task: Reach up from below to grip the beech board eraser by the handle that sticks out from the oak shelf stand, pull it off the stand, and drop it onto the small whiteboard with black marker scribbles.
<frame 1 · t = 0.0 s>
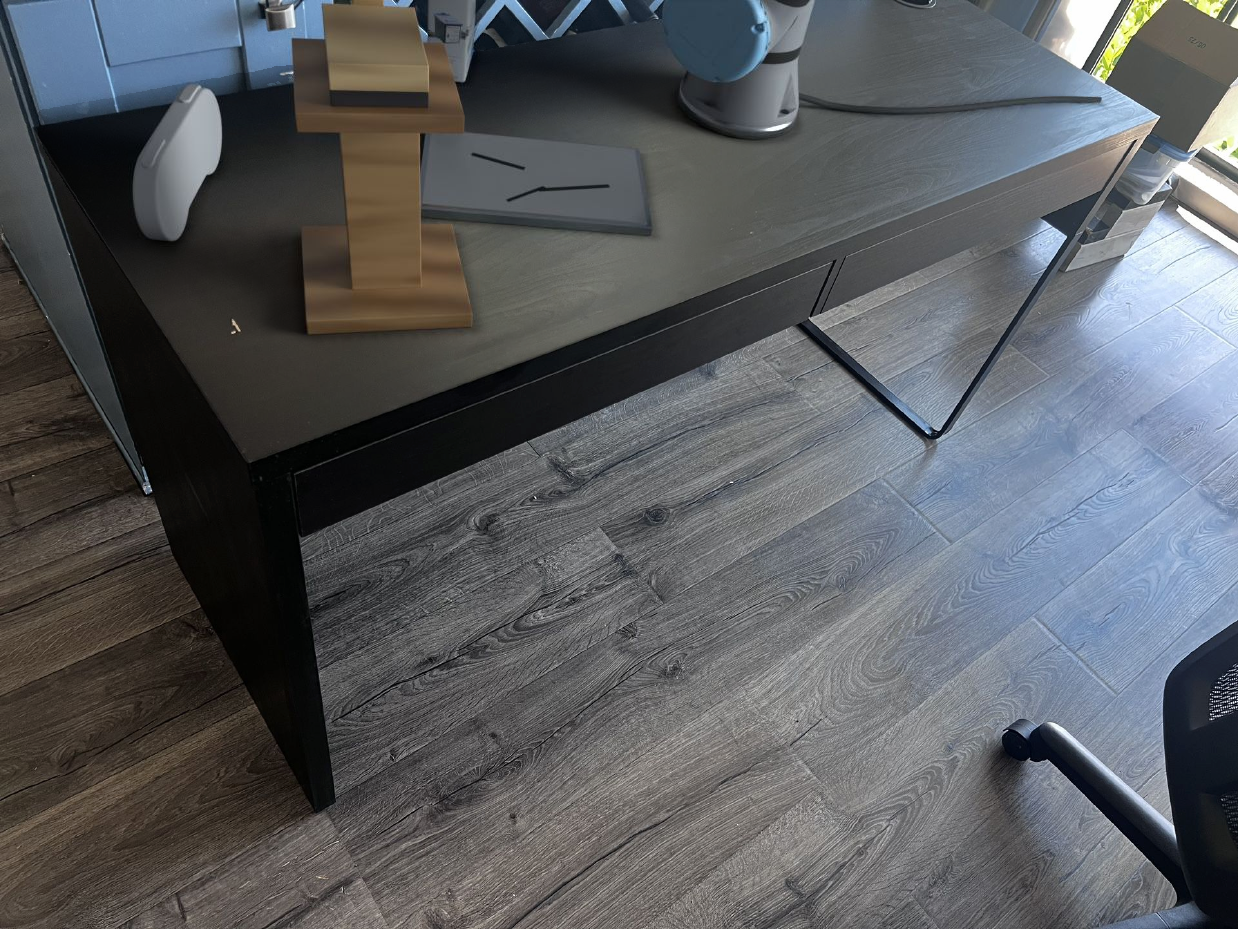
shelf stand: (384, 282, 86), on the table
eraser: (375, 75, 72), point 19 cm above the table, touching shelf stand
ink box: (451, 66, 117), on the table
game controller: (189, 200, 91), on the table
whiteboard: (534, 184, 101), on the table
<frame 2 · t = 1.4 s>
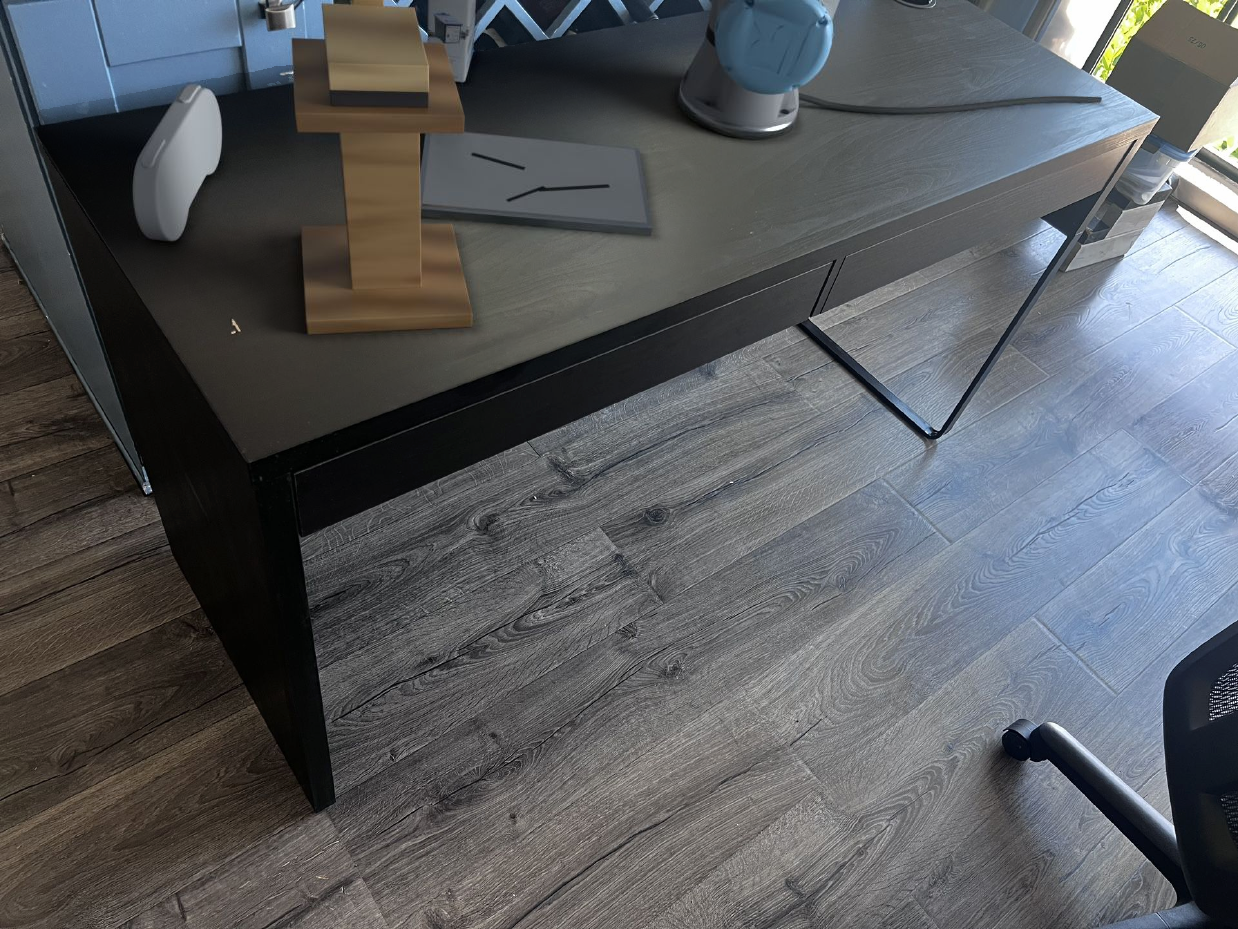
nothing on the table moved.
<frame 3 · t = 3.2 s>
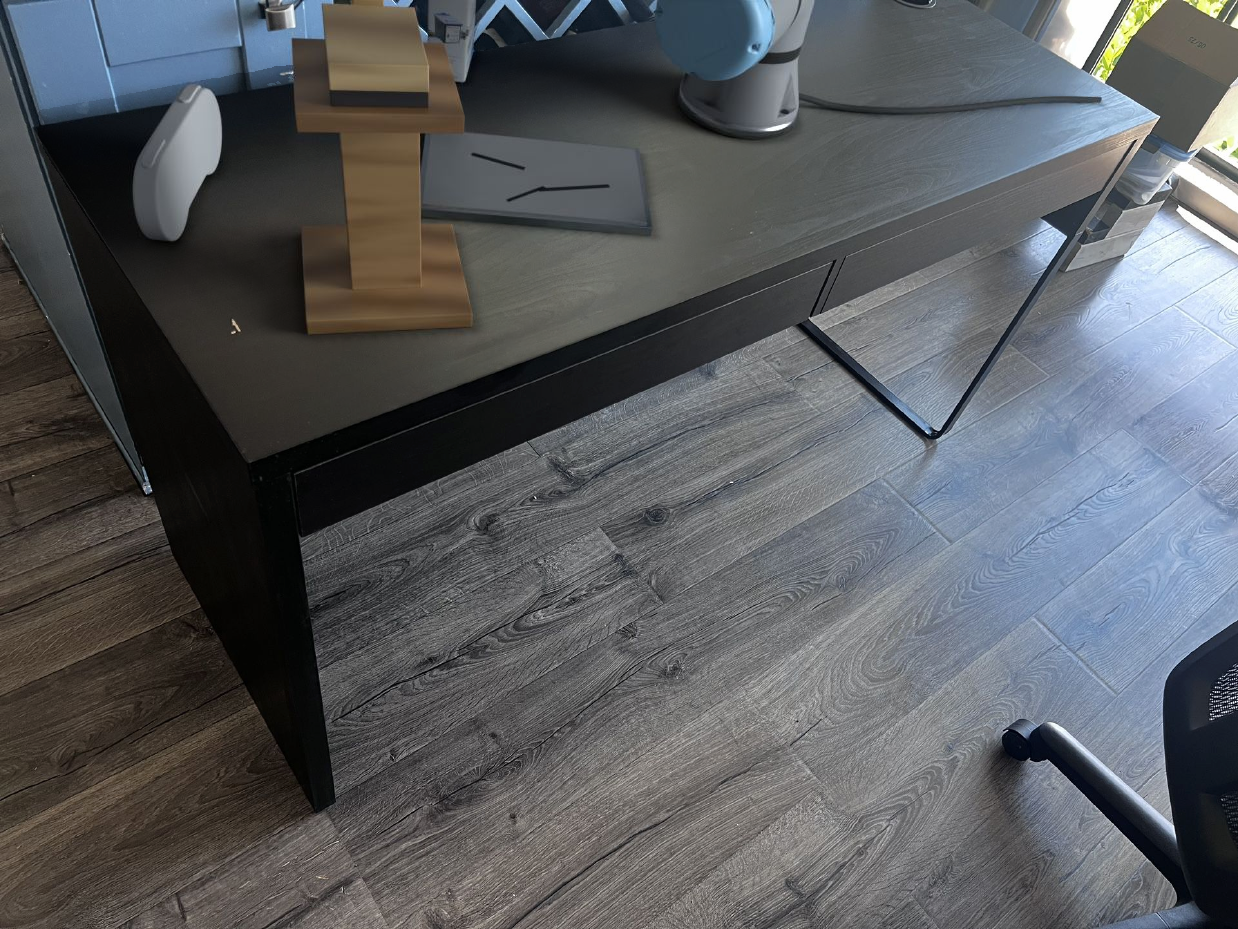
nothing on the table moved.
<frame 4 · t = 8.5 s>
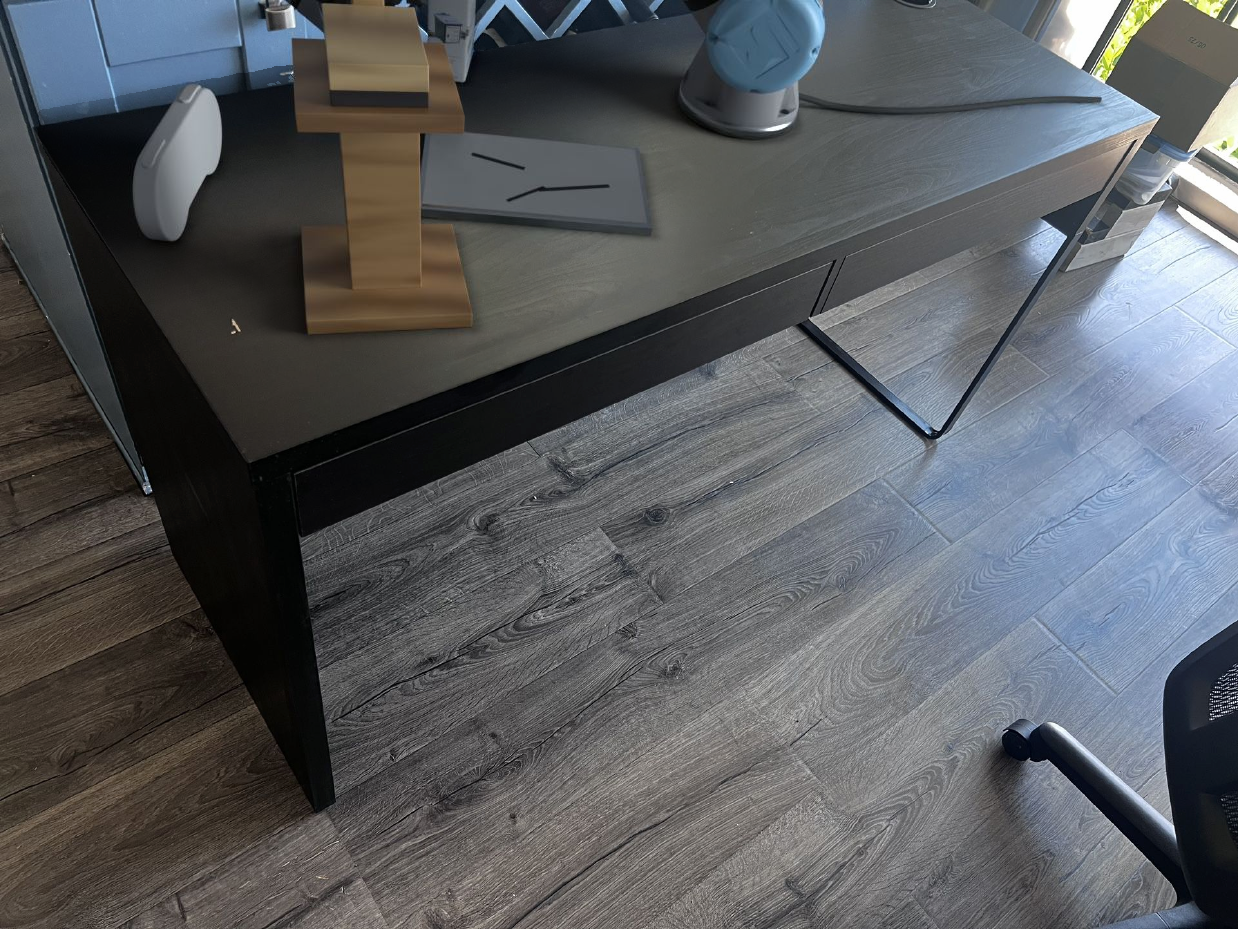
eraser: (375, 75, 72), point 19 cm above the table, touching gripper, shelf stand
everything else where it was.
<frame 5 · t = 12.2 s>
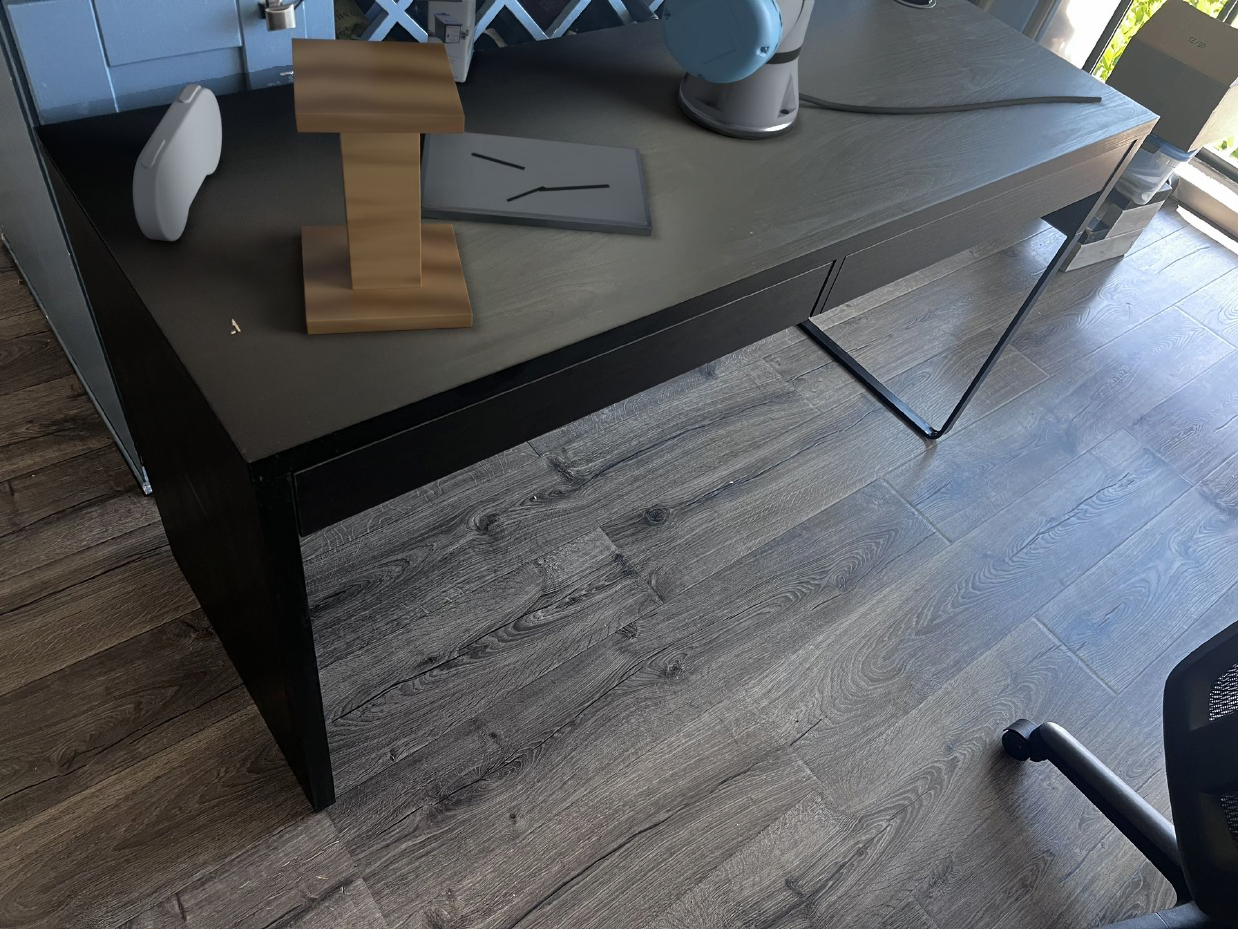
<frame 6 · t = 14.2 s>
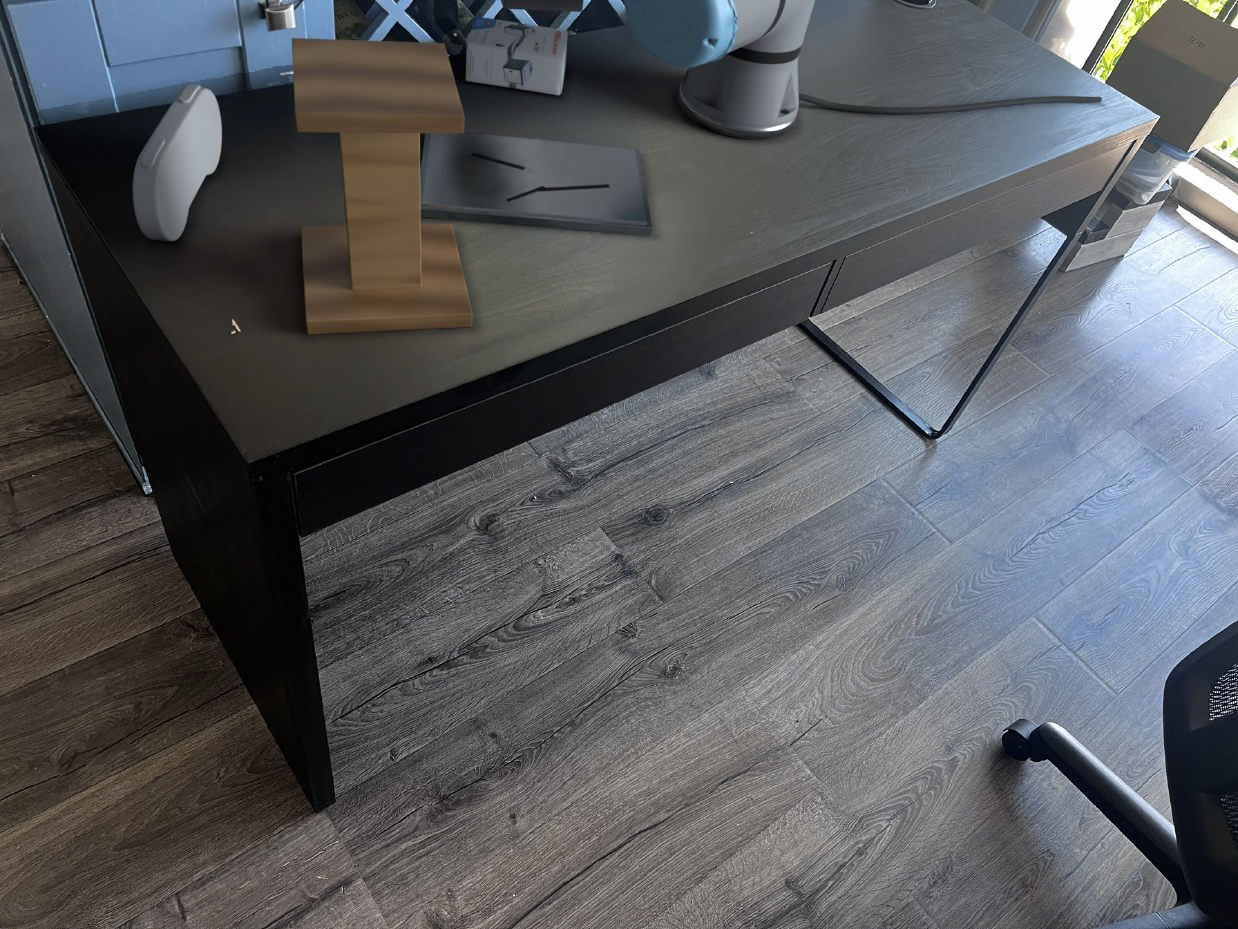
ink box: (468, 49, 116), point 2 cm above the table
when the fingers open (22 cm above the table, at t = 16.1 s): eraser drops 15 cm, resting on whiteboard.
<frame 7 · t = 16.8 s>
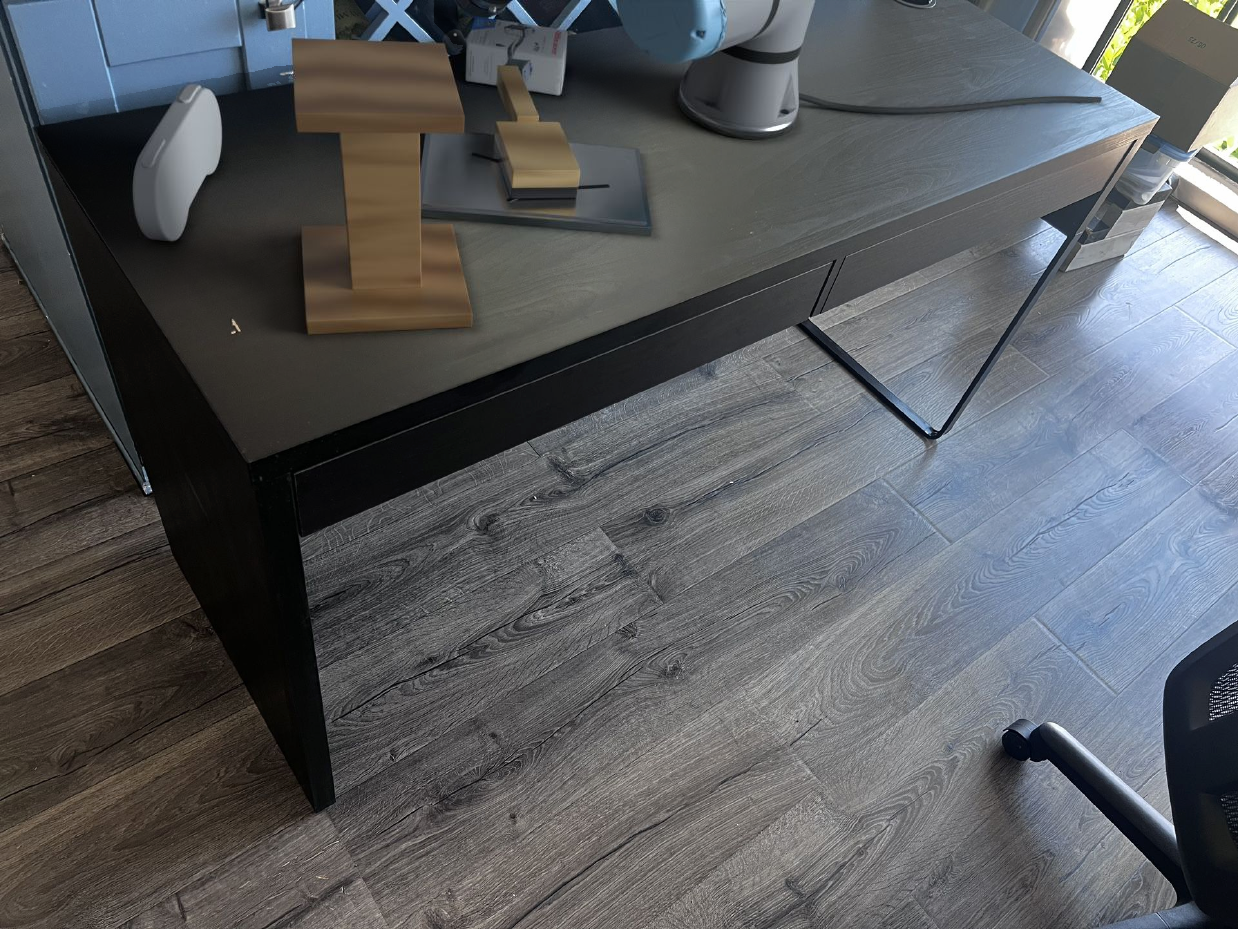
eraser: (534, 172, 100), point 1 cm above the table, touching whiteboard
everything else where it was.
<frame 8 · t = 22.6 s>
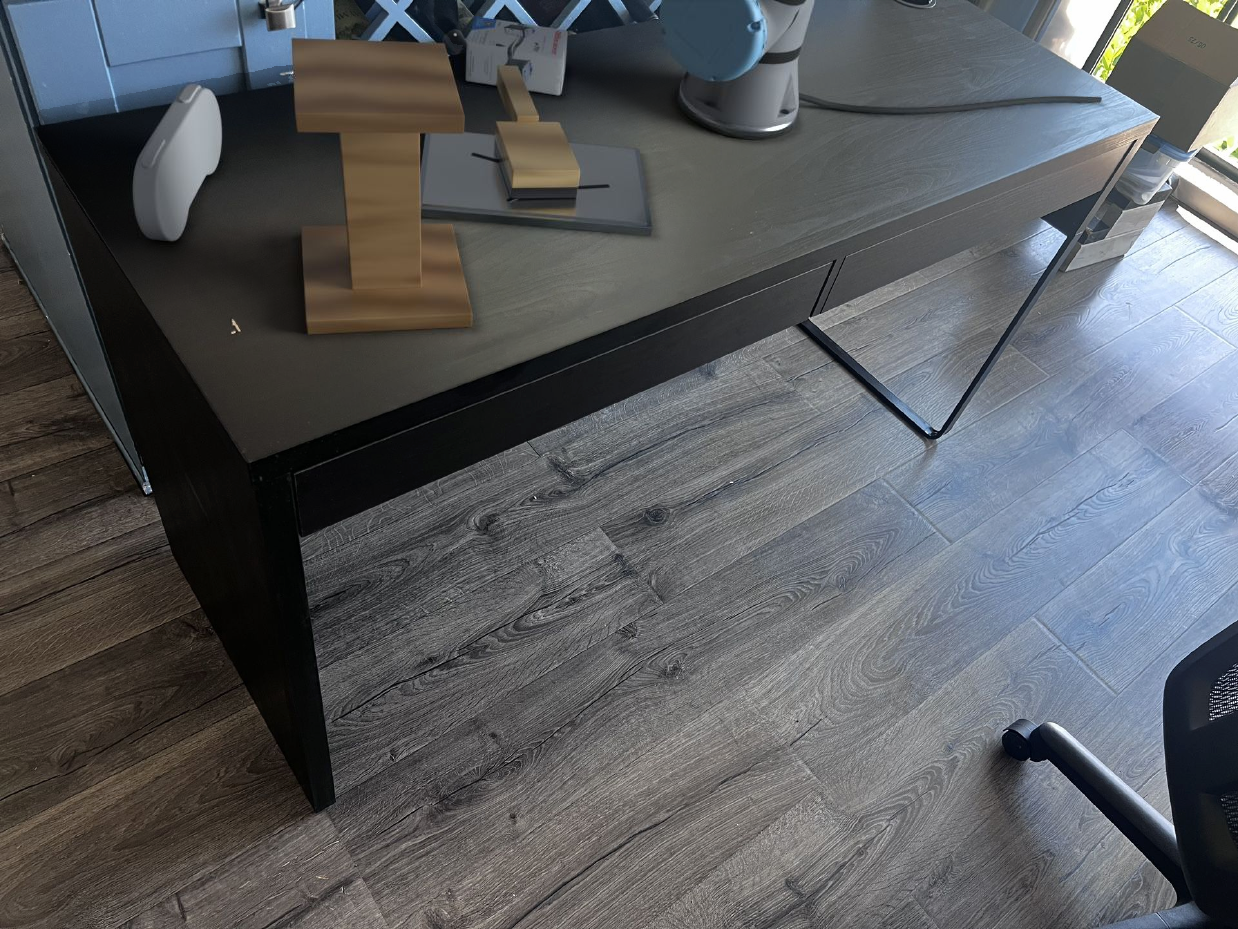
nothing on the table moved.
at the end: eraser inside the target area on the whiteboard (0.2 cm from its centre), point 1.3 cm above the whiteboard's base; the gripper is holding nothing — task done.
